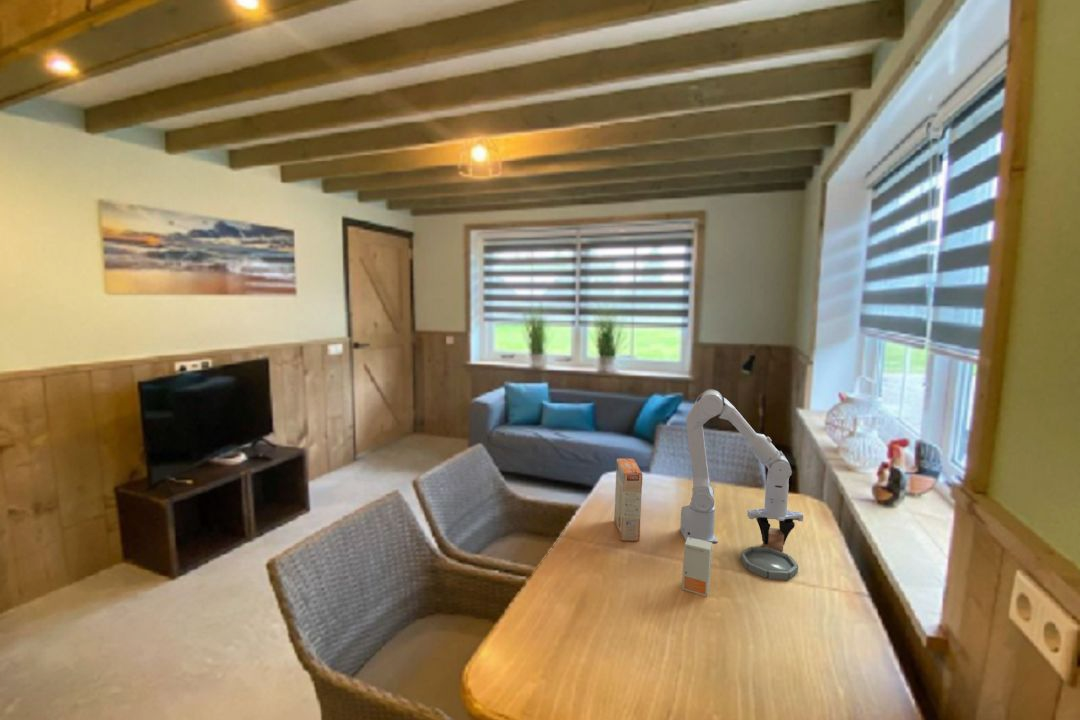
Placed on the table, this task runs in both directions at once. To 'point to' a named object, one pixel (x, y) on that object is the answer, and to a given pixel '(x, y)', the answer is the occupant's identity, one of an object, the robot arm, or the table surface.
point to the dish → (769, 563)
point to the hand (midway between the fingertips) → (773, 543)
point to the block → (775, 539)
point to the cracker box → (628, 499)
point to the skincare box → (697, 566)
